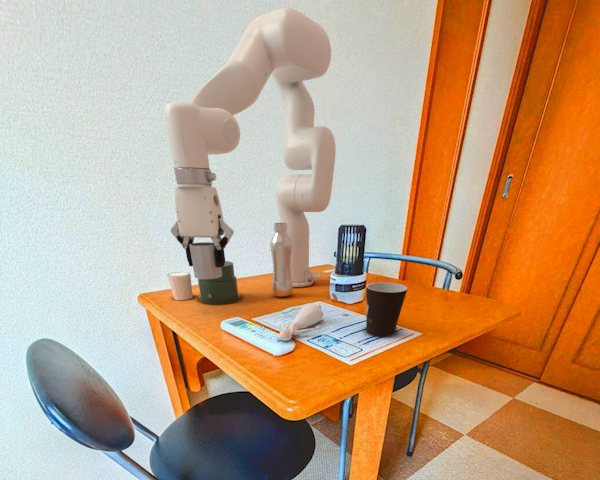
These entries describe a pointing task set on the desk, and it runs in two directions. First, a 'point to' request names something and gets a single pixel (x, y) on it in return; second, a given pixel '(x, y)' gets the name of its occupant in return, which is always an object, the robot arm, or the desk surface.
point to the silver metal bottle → (281, 261)
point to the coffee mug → (383, 307)
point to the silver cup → (204, 260)
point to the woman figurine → (302, 321)
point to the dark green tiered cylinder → (220, 287)
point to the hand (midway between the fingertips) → (207, 265)
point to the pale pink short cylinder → (180, 285)
